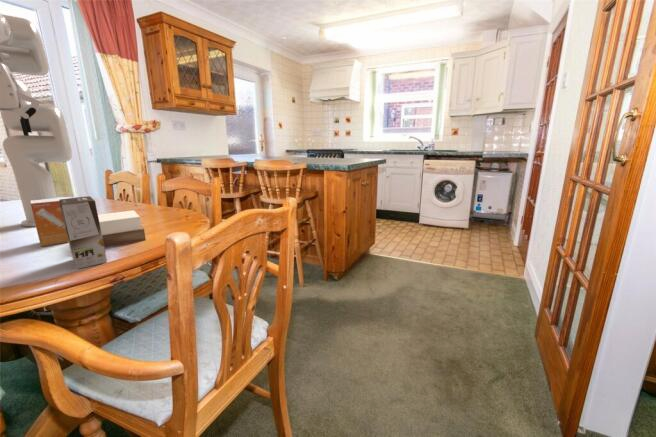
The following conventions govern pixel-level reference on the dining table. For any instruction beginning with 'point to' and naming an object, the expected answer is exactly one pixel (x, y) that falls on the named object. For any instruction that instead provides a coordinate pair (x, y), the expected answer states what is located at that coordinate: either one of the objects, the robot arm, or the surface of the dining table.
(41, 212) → the small box
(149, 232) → the dining table surface
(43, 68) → the robot arm
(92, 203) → the coffee box
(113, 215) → the top block
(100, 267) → the dining table surface
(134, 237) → the base block
